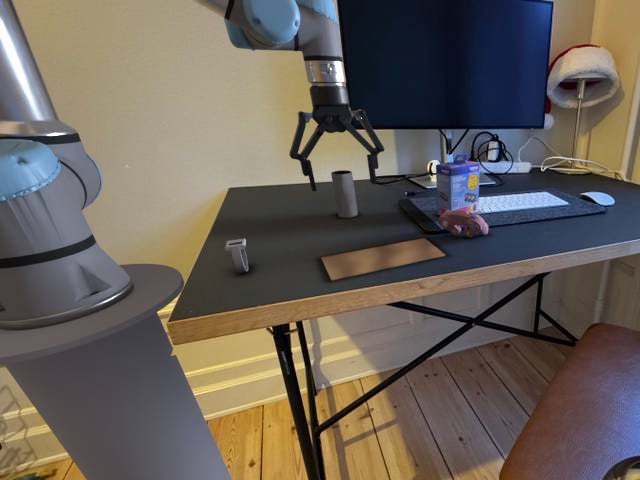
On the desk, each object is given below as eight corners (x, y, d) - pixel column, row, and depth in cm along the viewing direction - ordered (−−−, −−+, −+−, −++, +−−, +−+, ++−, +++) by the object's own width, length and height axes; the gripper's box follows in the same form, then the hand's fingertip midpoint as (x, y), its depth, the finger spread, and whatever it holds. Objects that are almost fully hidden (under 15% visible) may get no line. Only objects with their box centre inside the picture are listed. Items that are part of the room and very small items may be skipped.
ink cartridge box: (451, 220, 86) (449, 156, 79) (436, 215, 89) (433, 153, 83) (480, 211, 92) (480, 152, 86) (464, 207, 96) (464, 149, 89)
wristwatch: (235, 265, 63) (226, 238, 61) (253, 262, 64) (245, 235, 62) (232, 279, 58) (223, 250, 56) (252, 276, 60) (244, 247, 57)
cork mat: (331, 281, 58) (331, 279, 58) (321, 258, 66) (321, 257, 66) (445, 256, 67) (445, 255, 67) (424, 238, 75) (424, 238, 75)
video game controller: (441, 240, 79) (433, 216, 73) (448, 225, 81) (441, 201, 76) (484, 246, 76) (479, 221, 70) (491, 230, 78) (486, 205, 73)
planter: (334, 217, 87) (327, 173, 83) (344, 211, 91) (337, 169, 87) (352, 218, 87) (345, 174, 82) (361, 212, 91) (355, 170, 86)
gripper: (261, 85, 68) (288, 197, 78) (391, 85, 79) (401, 183, 89) (259, 85, 74) (284, 189, 83) (381, 85, 85) (391, 177, 95)
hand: (344, 186), depth 86 cm, fingers open, 13 cm apart
